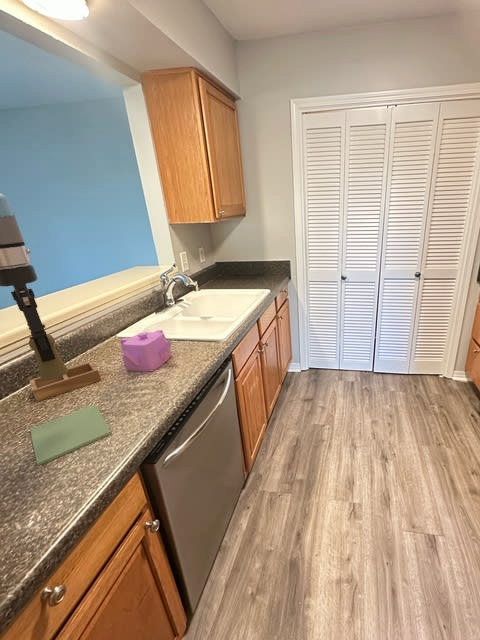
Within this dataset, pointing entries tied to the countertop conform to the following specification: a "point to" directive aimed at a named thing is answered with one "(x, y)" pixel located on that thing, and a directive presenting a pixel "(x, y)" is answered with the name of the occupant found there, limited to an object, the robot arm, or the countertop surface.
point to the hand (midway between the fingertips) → (47, 356)
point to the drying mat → (68, 433)
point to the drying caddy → (65, 381)
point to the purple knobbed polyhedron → (145, 351)
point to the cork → (49, 362)
